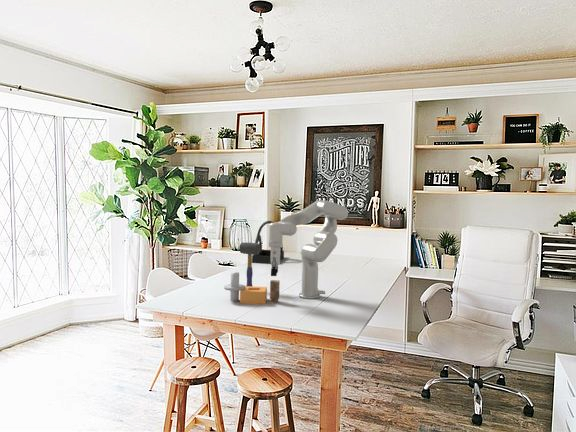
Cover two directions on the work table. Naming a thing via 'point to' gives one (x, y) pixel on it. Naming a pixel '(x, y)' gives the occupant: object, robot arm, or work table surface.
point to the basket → (264, 255)
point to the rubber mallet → (249, 257)
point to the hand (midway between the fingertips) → (274, 274)
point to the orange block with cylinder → (245, 291)
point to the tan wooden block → (274, 290)
